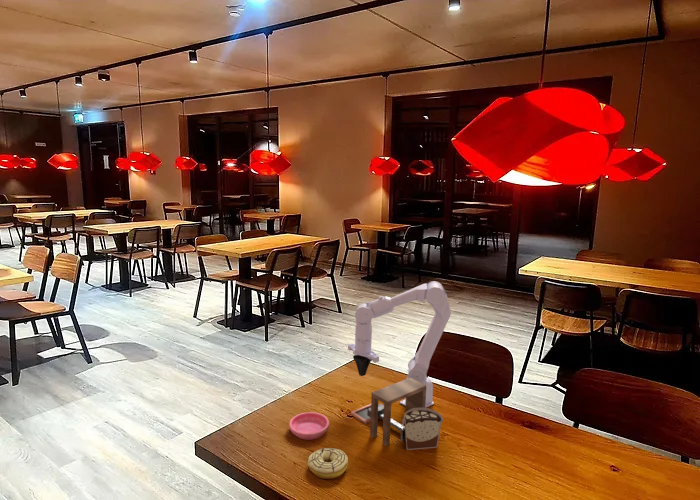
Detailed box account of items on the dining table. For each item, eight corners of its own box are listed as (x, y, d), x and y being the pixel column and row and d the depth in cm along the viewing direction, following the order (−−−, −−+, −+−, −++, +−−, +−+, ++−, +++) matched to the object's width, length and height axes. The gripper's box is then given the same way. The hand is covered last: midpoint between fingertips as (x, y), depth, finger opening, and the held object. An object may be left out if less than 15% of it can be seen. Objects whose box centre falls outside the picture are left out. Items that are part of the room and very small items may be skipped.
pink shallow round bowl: (295, 447, 130) (296, 437, 129) (284, 425, 141) (284, 416, 141) (335, 437, 135) (335, 428, 134) (320, 417, 146) (320, 408, 146)
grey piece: (382, 409, 150) (382, 399, 149) (420, 432, 137) (421, 421, 136) (364, 417, 145) (365, 407, 144) (402, 441, 132) (402, 430, 131)
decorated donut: (320, 452, 128) (320, 440, 127) (354, 464, 123) (354, 451, 122) (301, 473, 118) (301, 460, 118) (336, 486, 114) (336, 473, 113)
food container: (434, 435, 137) (436, 405, 136) (441, 447, 131) (443, 415, 130) (396, 438, 135) (397, 407, 133) (401, 450, 129) (403, 418, 127)
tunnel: (408, 417, 147) (410, 377, 145) (424, 427, 142) (426, 385, 139) (370, 435, 136) (371, 392, 134) (385, 446, 131) (387, 401, 129)
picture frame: (374, 404, 155) (374, 402, 155) (389, 413, 149) (389, 411, 149) (350, 414, 148) (350, 411, 148) (365, 424, 142) (365, 421, 142)
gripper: (341, 334, 157) (340, 370, 160) (368, 347, 146) (367, 385, 149) (356, 330, 162) (355, 365, 164) (384, 342, 151) (382, 380, 153)
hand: (362, 374), depth 157 cm, fingers closed
